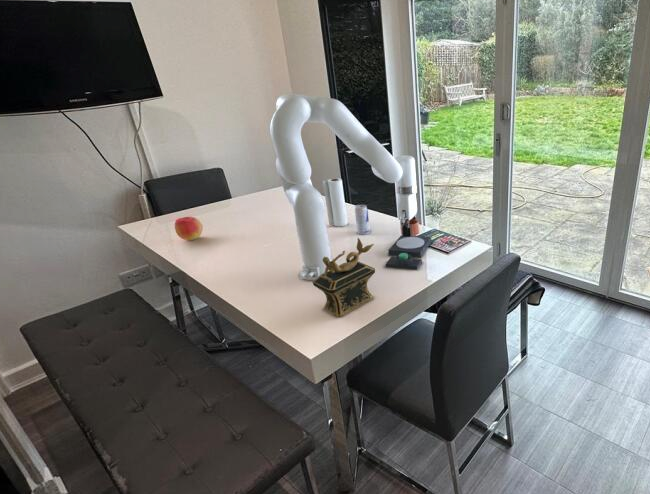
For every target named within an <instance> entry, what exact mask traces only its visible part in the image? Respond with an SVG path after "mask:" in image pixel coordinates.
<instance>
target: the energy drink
mask: <svg viewBox="0 0 650 494" xmlns="http://www.w3.org/2000/svg"><path fill="white" fill-rule="evenodd" d="M354 215H355V224H356V230H357V234H359V235H367V234H369V233H370V232H371V228H370V227H371V226H370V219H369V209H368V206H367V204H356V205H355V206H354Z"/></svg>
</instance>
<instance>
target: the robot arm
mask: <svg viewBox="0 0 650 494" xmlns="http://www.w3.org/2000/svg"><path fill="white" fill-rule="evenodd" d="M275 109H276V110H275V112H273V115H272V118H271V121H270V125H269V133H270V138H271V142H272V145H273V149H274V153H275V155H276V159H275V169H276V172H277V175H278V179H279V180H280V181H279V182H280V185H281V186H282V189H283V192H284V195H285V196H286V199H287V202H289V204H290V205H291V207H292V209H293V212H294V220H295V228H296V233H297V236H298V244H299V248H300V255H301V258H302V259H301V260H302V264H303V265H302V268H301V270H300V272H299V274H298V275H297V278H298V279H299V281H303V280H306V281H314V280H315V279H316V278H318V277H319V276H320V275H321V274H323V273H325V268H326V265H325V263H324V262H323V258H324V257H328V258H329V260H330V261H332V260H333V259H332V255H331V254H332V253H331V246H330V241H329V234H328V229H327V223H326V222H327V221H326V209H325V200H324V197H323V196H322V194H321V192H320V191H319V190H318V189H317V188H315V186H313V183H312V180H311V176H312V165H311V164H310V160H309V158H308V155H307V151H306V149H305V146H304V143H303V139H302V129H303V127H304V124H305V123H314V124H325V125H326V126H327V127H328V129H329V130H331V131H332V132H333V133H334V134H335V136H337V137H338V139H339V140H341V142H343V144H344V145H345V146H346V147H347V148H348V150H350V151H352V152H353V153H354V154H356V155H357V156H359V157H360V158H362V159H363V160H364V161H365V162H367V163H368V164H369V165H370V166H371V171H372V173H373V174H374V176H376V177H377V178H379V179H381V180H383V181H384V182H386V183H389V184H395V186H396V195H397V219H398V221H399V223H400V222H401V227H402V234H403V236H404V237H410V236H411V230H410V227H409V224H410V220H411V219H417V213H418V203H417V201H418V200H417V195H416V194H417V193H418V189H417V188H418V187H417V174H416V173H417V171H416V160H415V157H414V156H412V155H405V154H404V155H398V156H393V155H392V154H391V153H390V152H389V151H388V150H387V148H385V147H384V146H383V145H382V144H381V143H380V142H379V141H378V140H377V139H376V138H375V136H373V135H372V134H371V133H370V132H369V131H368V130H367V128H365V126H364V125H363V124H362V123H361V122H360V121H359V120H358V119H357V118H356V117H355V115H353V113H352V111H350V110H349V109H348V108H347V106H346V105H345V104H344V103H342V102H341V101H340V100H338V99H336V98H333V97H327V96H326V97H325V96H313V95H305V94H299V93H292V92H291V93H289V92H288V93H287V92H286V93H284V94H281V95H280V96H279V97H278V98H277V100H276V103H275ZM405 221H407V223H406V222H405ZM401 227H400V228H401ZM328 271H330V270H328Z"/></svg>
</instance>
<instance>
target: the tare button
mask: <svg viewBox="0 0 650 494" xmlns="http://www.w3.org/2000/svg"><path fill="white" fill-rule="evenodd" d="M399 259H400V260H406V259H408V254H407V253H401V254H399Z"/></svg>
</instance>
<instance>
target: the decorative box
mask: <svg viewBox="0 0 650 494" xmlns="http://www.w3.org/2000/svg"><path fill="white" fill-rule="evenodd" d="M374 245H375V244H374V243H372V244H368V245H365V246H364V247H363V243H362V241H361V239H360V237H357V243H356V251H357V252H356V251H350V252H349V253H348V254H347V255H346V258H345V261H346V262H343V263H341V264H337V263H336V261H337V260H338V259H339V258H341V257H342V256H344V255H345V253H346V250H345V249H344V250H343V251H342V253H340V254H338V255H337V256H336V257H334V258H333V259H332V261H330V260H329V258H328V257H324V258H323V262H324V263H325V265H326V268H325V273H323V274H321V275H320V276H319V277H318V278H316V279H315V280H312V284H313V287H315V288H317V289H319V290H320V291H321V292H323V293H324V295H325V298H326V301H325V305H324V307H323V310H325V311H326V312H328V313H330V314H332V315H333V316H335V317H343V316H345V315H346V314H348V313H350V312H352V311H353V310H355V309H357V308H359V307H360V306H362V305H364V304H366V303H367V302H369V301H371V300H373V294H371V292H370V290H369V288H368V282H369V280H370V279H371V278H372V277H373V275H374V274H376V268H375V267H374V266H370V265H368V264H367V263H363V262H360V261H359V259H360V255H361V254H364V253H367V252H368V251H370V250H371V249H372V248H373V246H374ZM328 270H330V271H328Z"/></svg>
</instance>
